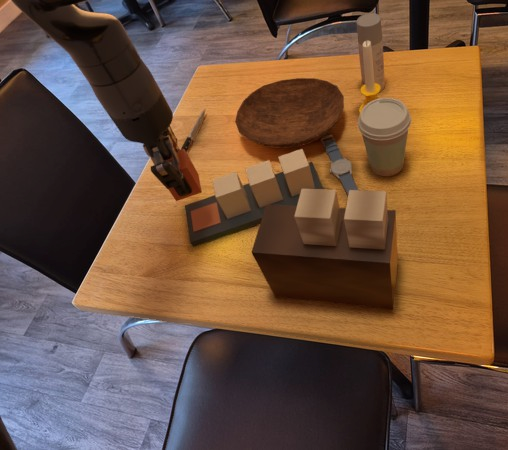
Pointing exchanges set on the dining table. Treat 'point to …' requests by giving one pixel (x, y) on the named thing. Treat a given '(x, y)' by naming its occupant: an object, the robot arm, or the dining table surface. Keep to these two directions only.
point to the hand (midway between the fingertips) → (184, 182)
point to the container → (371, 32)
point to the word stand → (330, 249)
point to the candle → (368, 76)
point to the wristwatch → (339, 165)
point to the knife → (194, 131)
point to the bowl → (290, 112)
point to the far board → (249, 197)
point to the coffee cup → (385, 134)
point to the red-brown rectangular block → (187, 175)
